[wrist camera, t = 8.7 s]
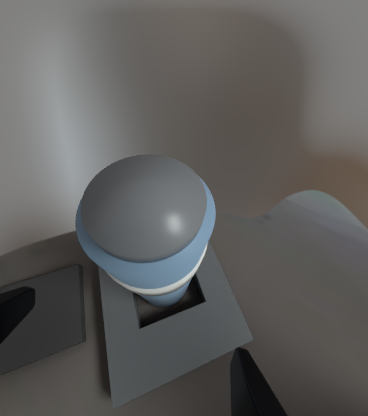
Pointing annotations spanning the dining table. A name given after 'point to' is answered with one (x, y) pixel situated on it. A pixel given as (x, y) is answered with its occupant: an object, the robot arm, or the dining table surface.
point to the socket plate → (168, 333)
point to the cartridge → (147, 225)
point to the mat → (47, 319)
